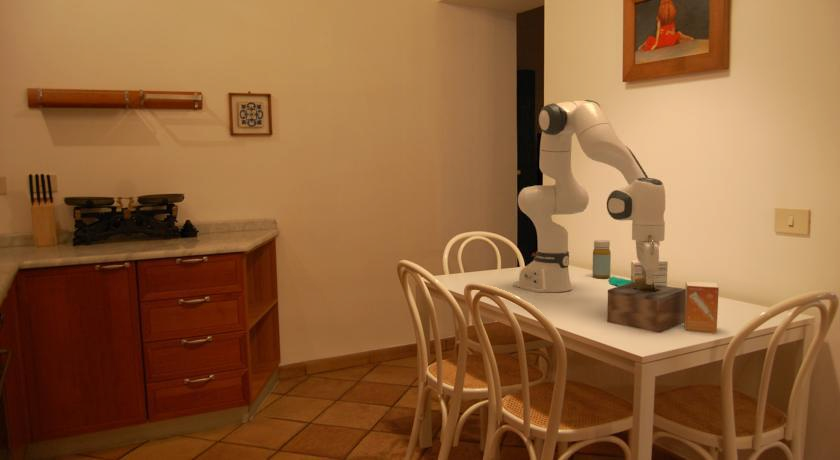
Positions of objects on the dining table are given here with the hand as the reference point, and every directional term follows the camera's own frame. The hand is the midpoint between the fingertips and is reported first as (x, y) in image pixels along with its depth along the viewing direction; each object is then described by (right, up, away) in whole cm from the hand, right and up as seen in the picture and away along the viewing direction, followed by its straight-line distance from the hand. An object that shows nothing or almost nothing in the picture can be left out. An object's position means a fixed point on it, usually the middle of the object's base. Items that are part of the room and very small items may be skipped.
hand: (646, 280), depth 171 cm
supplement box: (+17, -8, +38) cm, 42 cm away
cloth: (+12, -7, +55) cm, 56 cm away
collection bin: (0, -13, +1) cm, 13 cm away
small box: (+13, -13, -6) cm, 19 cm away
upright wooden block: (0, -3, +1) cm, 3 cm away
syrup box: (+7, -10, +24) cm, 27 cm away
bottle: (+9, -5, +71) cm, 71 cm away
